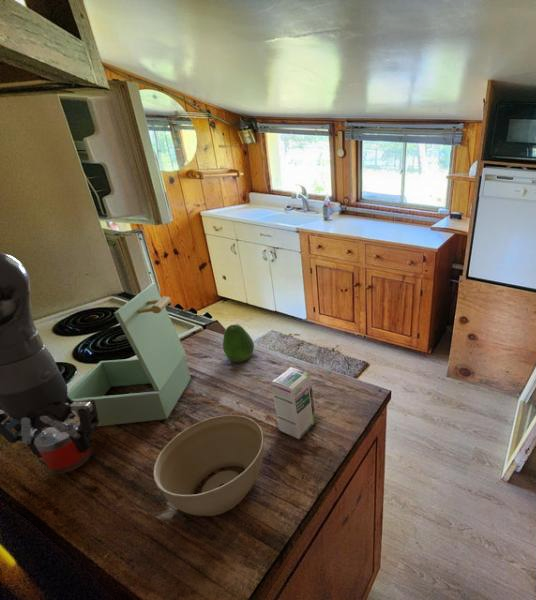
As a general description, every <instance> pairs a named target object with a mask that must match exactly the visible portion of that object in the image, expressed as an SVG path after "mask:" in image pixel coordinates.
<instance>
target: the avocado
mask: <svg viewBox="0 0 536 600" xmlns="http://www.w3.org/2000/svg"><path fill="white" fill-rule="evenodd" d="M222 348H223V353H224V354H225V356H226V357H227V359H228V360H229V361H231V362H232V363H243V362H246V361H248V360H249V359H250V358H251V356H252V355H253V353H254V349H255V344H254V340H253V338H252V337H251V336H250V334H249V333H248V332H247V331H246V330H245V329H244V327H243V326H241V325H240V324H238V323H235V324H230V325H229V326H227V327H226V328H225V330H224V333H223V340H222Z"/></svg>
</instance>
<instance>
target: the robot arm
mask: <svg viewBox="0 0 536 600" xmlns="http://www.w3.org/2000/svg"><path fill="white" fill-rule="evenodd" d="M31 297H32V295H31V280H30V275H29V273H28V271H27V269H26V267H25V266H24V264H23V263H22V262H21V261H19V260H18V259H17V258H15V257H14V256H13V255H9V254H7V253H4V252H0V435H1V436H2V437H3V438H4V439H5V440H6V441H7V442H8V443H10V444H16V443H17V442H21V443H22V444H24V445H27V446H28V447H29V449H30V450H31V452H32V454H34V455H35V456H36V457H37V458H39V459H41V458H42V456H41V455H40V453H39V451H38V450H37V447H36V446H35V444H34V440H35V438H36V437H37V435H39V434H40V433H41V432H42V431H43V429H46V428H49V427H54V428H55V429H57V430H58V431H59V432H61V433H62V432H66V433H67V434H69V435H70V436H71V437H73V441H74V443H75V444H76V446H77V448H78V450H79V452H80V453H81V452H86V451H87V450H88V449H89V447H90V448H91V446H92V445H93V444H94V439H93V436H92V432H93V431H94V430H95V429H96V427H98V426H97V425H98V423H99V419H98V414H97V409H96V405H95V401H94V400H93V399H88V400H87V401H86V402H74V401H73V400H72V399H71V398H69V397H68V394H67V392H68V385H67V383H66V381H65V379H64V377H63V375H62V373H61V370H60V369H59V367H58V365H57V363H56V361H55V359H54V357H53V355H52V353H51V352H50V351H49V349H48V348H47V347H46V345H45V344H44V342H43V340H42V337H41V335H40V333H39V332H38V329H37V327H36V325H35V322H34V318H33V312H32V301H31V300H32V299H31ZM68 417H69V420H68V421H67V422H66V424H64V423H63V422H65V420H66V419H67V418H68ZM73 425H76V426H77V427H78V429H75V428H74V427H73ZM13 429H14V430H15V431H13Z"/></svg>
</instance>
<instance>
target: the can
mask: <svg viewBox="0 0 536 600" xmlns="http://www.w3.org/2000/svg"><path fill="white" fill-rule="evenodd" d="M63 423H64V424H66V422H65V421H64V422H63ZM73 427H74V428H75V429H78V427H77V426H76V425H73ZM34 444H35V446H36V447H37V450H38V451H39V453H40V455H41V456H42V457H41V458H42V460H43V461H44V463H45V464H46V466H47V467H48V469H49V471H50V472H51V473H52V474H55V475H61V474H66V473H70V472H71V471H74V470H76V469H78V468H79V467H81V466H83V465H84V464H85V463H86V462H87V461H88V460H89V459H90V458H91V456H92V454H93V453H92V452H93V451H92V449H91V446H90V447H89V449H88V450H87V451H86V452H81V453H80V452H79V450H78V448H77V446H76V444H75V443H74V441H73V437H71V436H70V435H69V434H67V433H66V432H62V433H61V432H59V431H58V430H57V429H55V428H54V427H46V428H44V430H42V432H41V433H40V434H39V435H37V437H36V438H35V440H34Z"/></svg>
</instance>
